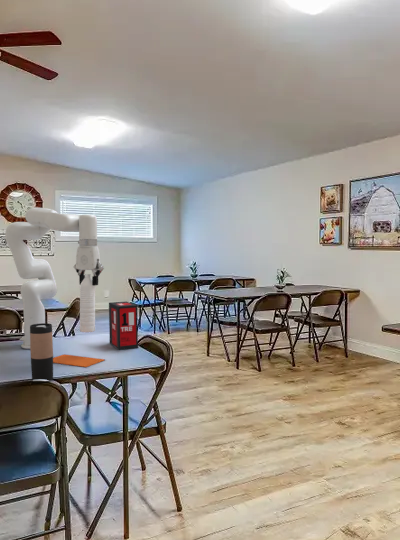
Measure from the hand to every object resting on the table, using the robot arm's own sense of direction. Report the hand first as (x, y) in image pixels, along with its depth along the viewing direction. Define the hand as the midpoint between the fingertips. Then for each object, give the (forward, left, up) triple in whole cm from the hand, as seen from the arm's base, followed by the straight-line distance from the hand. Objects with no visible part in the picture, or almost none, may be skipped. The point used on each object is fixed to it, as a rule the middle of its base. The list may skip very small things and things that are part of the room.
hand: (88, 284), depth 202 cm
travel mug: (+8, -37, -31) cm, 49 cm away
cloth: (0, -11, -31) cm, 33 cm away
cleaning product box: (+2, +21, -31) cm, 38 cm away
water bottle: (0, 0, -21) cm, 21 cm away
